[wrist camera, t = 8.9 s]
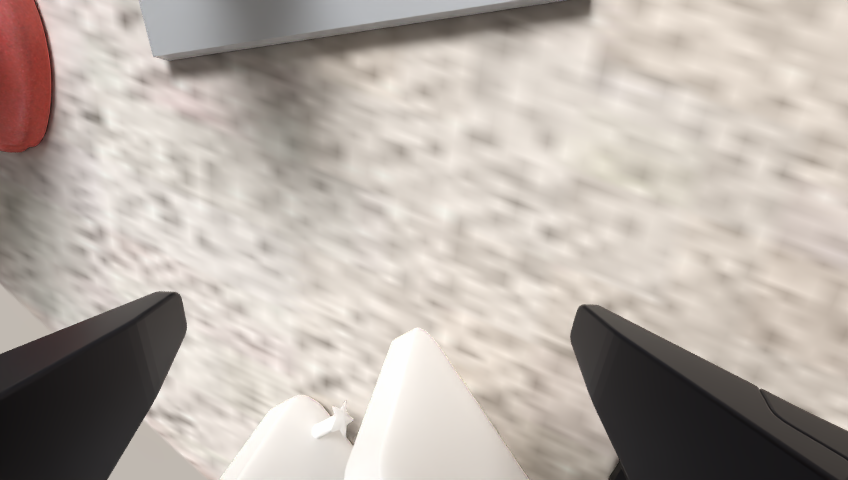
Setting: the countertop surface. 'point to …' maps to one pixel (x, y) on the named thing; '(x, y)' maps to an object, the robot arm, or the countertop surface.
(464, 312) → the countertop surface
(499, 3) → the board
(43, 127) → the stacking bear
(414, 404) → the cable organizer
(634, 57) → the countertop surface
